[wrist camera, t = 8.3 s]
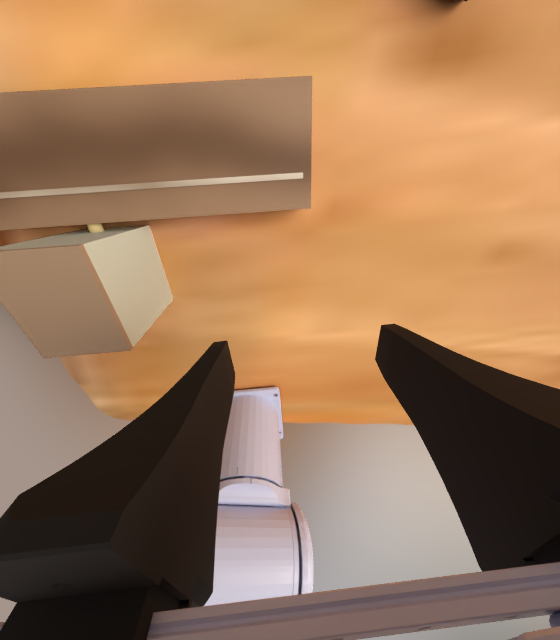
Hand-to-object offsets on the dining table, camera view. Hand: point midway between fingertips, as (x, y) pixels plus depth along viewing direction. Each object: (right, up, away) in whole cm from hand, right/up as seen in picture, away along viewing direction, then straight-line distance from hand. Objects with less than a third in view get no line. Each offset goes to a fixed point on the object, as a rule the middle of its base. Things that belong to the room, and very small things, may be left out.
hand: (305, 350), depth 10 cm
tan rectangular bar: (-9, +12, +4) cm, 16 cm away
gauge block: (-13, +6, +7) cm, 16 cm away
